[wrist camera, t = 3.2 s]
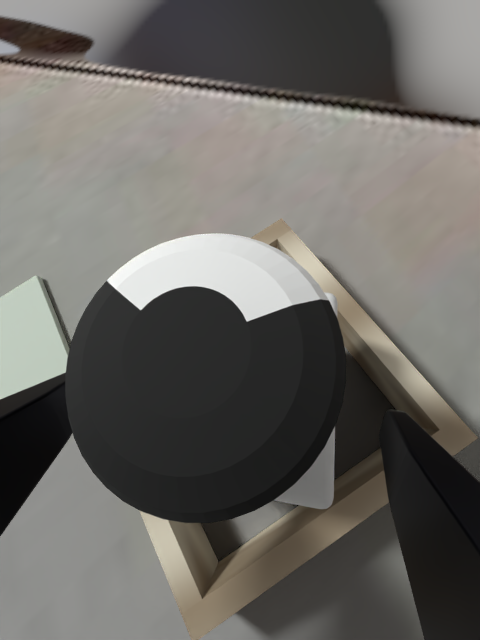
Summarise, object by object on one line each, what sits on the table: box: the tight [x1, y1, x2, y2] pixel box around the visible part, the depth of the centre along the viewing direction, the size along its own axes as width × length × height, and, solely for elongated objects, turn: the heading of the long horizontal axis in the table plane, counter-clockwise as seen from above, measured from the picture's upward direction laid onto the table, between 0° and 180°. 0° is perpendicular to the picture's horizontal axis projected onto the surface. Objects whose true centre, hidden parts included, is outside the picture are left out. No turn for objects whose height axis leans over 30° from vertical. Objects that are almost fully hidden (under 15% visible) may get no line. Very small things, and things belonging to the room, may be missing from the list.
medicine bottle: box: [65, 233, 346, 523], centre depth 11 cm, size 7×7×12 cm
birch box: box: [139, 218, 478, 640], centre depth 15 cm, size 14×14×3 cm
